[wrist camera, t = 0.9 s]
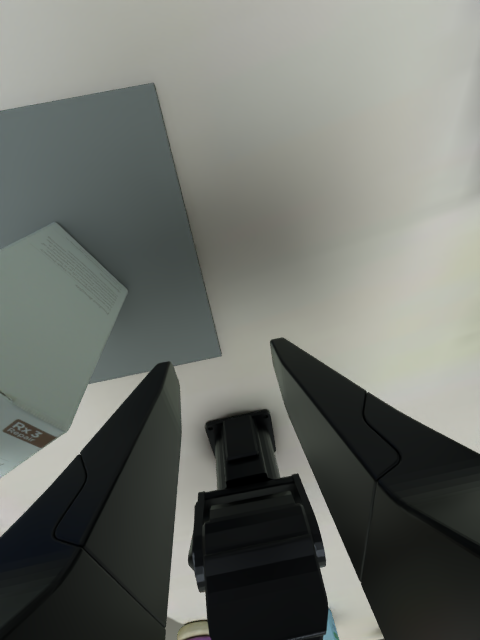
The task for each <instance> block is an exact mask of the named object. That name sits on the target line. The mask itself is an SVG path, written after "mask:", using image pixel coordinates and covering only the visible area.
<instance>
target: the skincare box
mask: <svg viewBox="0 0 480 640" xmlns="http://www.w3.org/2000/svg"><path fill="white" fill-rule="evenodd" d="M127 293H128V290H127V289H126V288H125V287H124V286H123V285H122V284H121V283H120V282H119V281H118V280H117V279H116V278H115V277H114V276H113V275H111V274H110V273H109V272H108V271H107V270H106V269H105V268H104V267H103V266H102V265H101V264H100V263H99V262H98V261H97V260H96V259H95V258H94V257H92V256H91V255H90V254H89V253H88V252H87V251H86V250H85V249H84V248H83V247H82V246H81V245H80V244H79V243H78V242H77V241H76V240H74V239H73V238H72V237H71V236H70V235H69V234H68V233H67V232H66V231H65V230H64V229H63V228H62V227H61V226H60V225H59V224H57V223H56V222H53V223H51V224H50V225H48V226H46V227H44V228H42V229H40V230H38V231H36V232H34V233H32V234H30V235H28V236H26V237H24V238H22V239H20V240H18V241H16V242H14V243H12V244H10V245H8V246H6V247H4V248H2V249H0V478H1V477H3V476H4V475H6V474H7V473H8V472H10V471H11V470H12V469H14V468H15V467H17V466H18V465H19V464H21V463H22V462H24V461H25V460H27V459H28V458H29V457H31V456H32V455H34V454H35V453H37V452H38V451H39V450H41V449H42V448H44V447H45V446H47V445H48V444H50V443H51V442H52V441H54V440H55V439H57V438H58V437H60V436H61V435H63V434H64V433H66V432H67V431H68V430H69V428H70V426H71V424H72V421H73V419H74V416H75V414H76V411H77V409H78V407H79V404H80V402H81V399H82V397H83V395H84V392H85V390H86V388H87V385H88V383H89V381H90V378H91V376H92V374H93V371H94V369H95V367H96V364H97V362H98V360H99V358H100V355H101V353H102V351H103V348H104V346H105V344H106V341H107V339H108V337H109V335H110V332H111V330H112V328H113V326H114V323H115V321H116V318H117V316H118V314H119V311H120V309H121V307H122V305H123V302H124V300H125V298H126V296H127Z"/></svg>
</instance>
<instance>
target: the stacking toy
mask: <svg viewBox="0 0 480 640" xmlns="http://www.w3.org/2000/svg"><path fill="white" fill-rule="evenodd" d="M177 640H211V638H210V636H209V629H208V622H207V621H199V622H193V623H189V624H187V625H185V626H183V627H182V628H181V629H180V630H179V632H178V634H177Z"/></svg>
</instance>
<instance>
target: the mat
mask: <svg viewBox="0 0 480 640" xmlns="http://www.w3.org/2000/svg"><path fill="white" fill-rule="evenodd" d="M53 222H56V223H57V224H59V225H60V226H61V227H62V228H63V229H64V230H65V231H66V232H67V233H68V234H69V235H70V236H71V237H72V238H73V239H74V240H76V241H77V242H78V243H79V244H80V245H81V246H82V247H83V248H84V249H85V250H86V251H87V252H88V253H89V254H90V255H91V256H92V257H94V258H95V259H96V260H97V261H98V262H99V263H100V264H101V265H102V266H103V267H104V268H105V269H106V270H107V271H108V272H109V273H110V274H111V275H113V276H114V277H115V278H116V279H117V280H118V281H119V282H120V283H121V284H122V285H123V286H124V287H125V288H126V289H127V290H128V293H127V296H126V298H125V300H124V302H123V305H122V307H121V309H120V311H119V314H118V316H117V318H116V321H115V323H114V326H113V328H112V330H111V332H110V335H109V337H108V339H107V341H106V344H105V346H104V348H103V351H102V353H101V355H100V358H99V360H98V362H97V364H96V367H95V369H94V371H93V374H92V376H91V378H90V381H89V383H88V384H91V383H96V382H101V381H105V380H110V379H115V378H120V377H124V376H129V375H134V374H139V373H143V372H148V371H151V370H152V369H153V368H154V367H155V365H156V364H158V363H162V362H167V361H170V362H171V363H172V364H173V366H177V365H182V364H186V363H191V362H196V361H201V360H206V359H210V358H215V357H220V356H222V355H221V350H220V346H219V342H218V338H217V334H216V330H215V326H214V322H213V318H212V314H211V310H210V306H209V302H208V298H207V294H206V290H205V286H204V282H203V278H202V274H201V270H200V266H199V262H198V258H197V254H196V250H195V246H194V242H193V238H192V234H191V230H190V226H189V222H188V218H187V214H186V210H185V206H184V202H183V198H182V194H181V190H180V186H179V182H178V178H177V174H176V170H175V166H174V162H173V158H172V154H171V150H170V146H169V142H168V138H167V133H166V129H165V125H164V121H163V117H162V113H161V109H160V105H159V101H158V97H157V93H156V89H155V85H154V83H150V84H144V85H139V86H133V87H128V88H122V89H117V90H112V91H106V92H101V93H95V94H90V95H84V96H79V97H74V98H68V99H63V100H57V101H52V102H46V103H41V104H36V105H30V106H25V107H19V108H14V109H9V110H3V111H0V249H2V248H4V247H6V246H8V245H10V244H12V243H14V242H16V241H18V240H20V239H22V238H24V237H26V236H28V235H30V234H32V233H34V232H36V231H38V230H40V229H42V228H44V227H46V226H48V225H50V224H51V223H53Z"/></svg>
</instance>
